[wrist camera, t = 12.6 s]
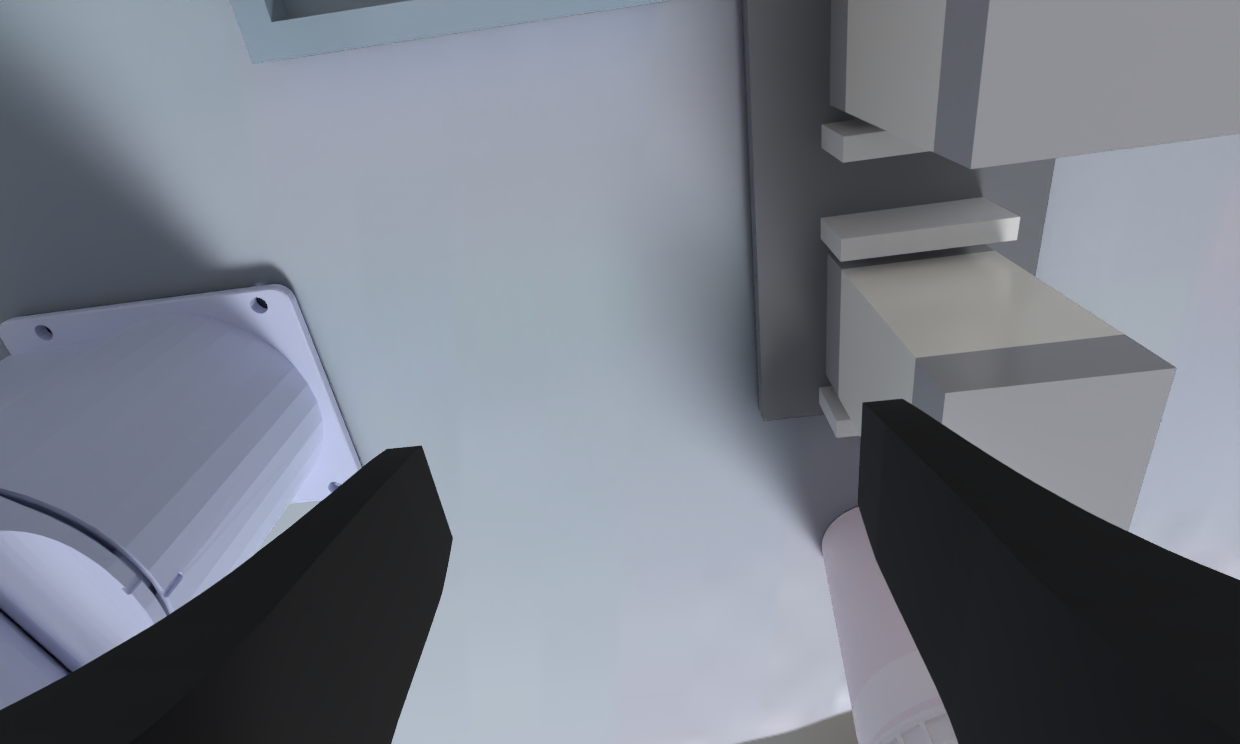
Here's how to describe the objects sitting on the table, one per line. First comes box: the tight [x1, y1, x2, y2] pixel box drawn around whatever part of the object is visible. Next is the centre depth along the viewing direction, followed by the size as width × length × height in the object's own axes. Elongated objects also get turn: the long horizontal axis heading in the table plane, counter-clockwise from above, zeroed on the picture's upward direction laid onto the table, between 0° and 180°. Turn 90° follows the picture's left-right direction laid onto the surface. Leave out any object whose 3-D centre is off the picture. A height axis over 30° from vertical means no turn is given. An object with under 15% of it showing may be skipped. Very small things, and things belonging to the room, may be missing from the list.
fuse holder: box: [742, 0, 1055, 438], centre depth 16 cm, size 8×23×3 cm, turn 8°
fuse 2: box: [826, 244, 1176, 531], centre depth 16 cm, size 4×4×8 cm
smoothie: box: [822, 507, 958, 744], centre depth 19 cm, size 6×6×14 cm
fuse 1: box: [830, 0, 1240, 169], centre depth 13 cm, size 4×4×8 cm
